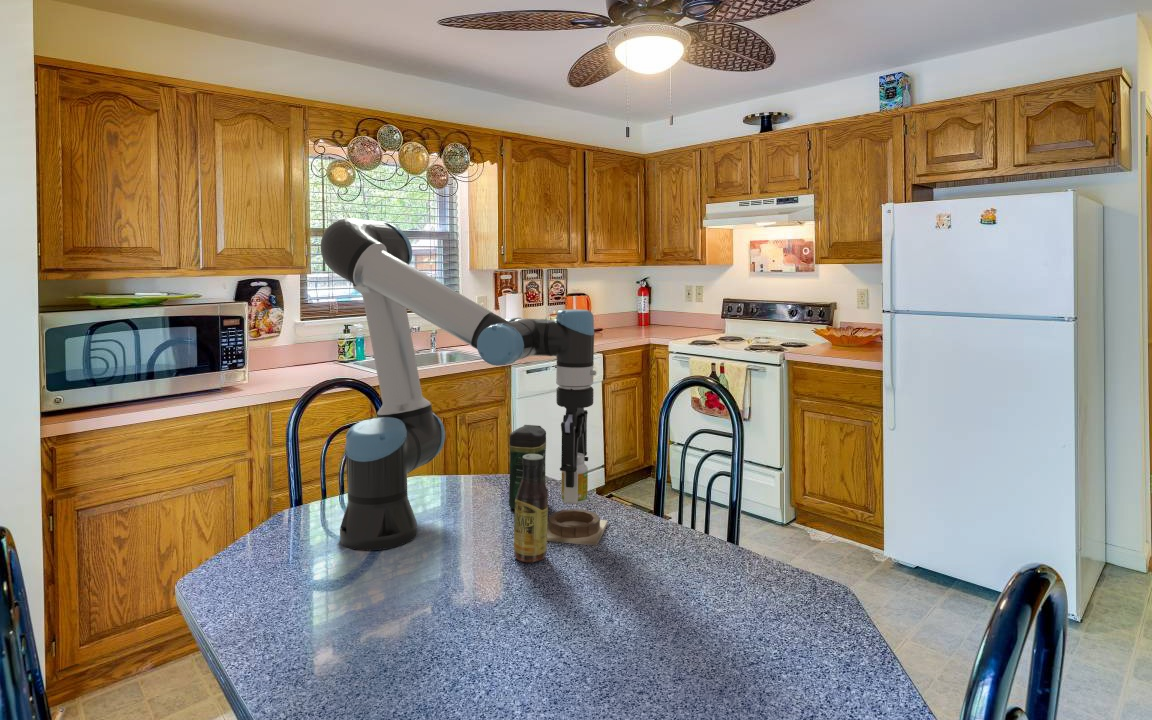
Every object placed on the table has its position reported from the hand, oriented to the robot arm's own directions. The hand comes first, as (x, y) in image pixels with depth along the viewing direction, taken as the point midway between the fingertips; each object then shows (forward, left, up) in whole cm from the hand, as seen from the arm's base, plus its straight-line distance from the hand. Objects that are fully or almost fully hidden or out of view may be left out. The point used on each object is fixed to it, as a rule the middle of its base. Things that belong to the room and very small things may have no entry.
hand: (574, 496), depth 142 cm
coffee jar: (-14, +13, -8) cm, 21 cm away
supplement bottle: (0, 0, -1) cm, 1 cm away
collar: (0, 0, -8) cm, 8 cm away
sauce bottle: (-5, -14, -8) cm, 17 cm away
